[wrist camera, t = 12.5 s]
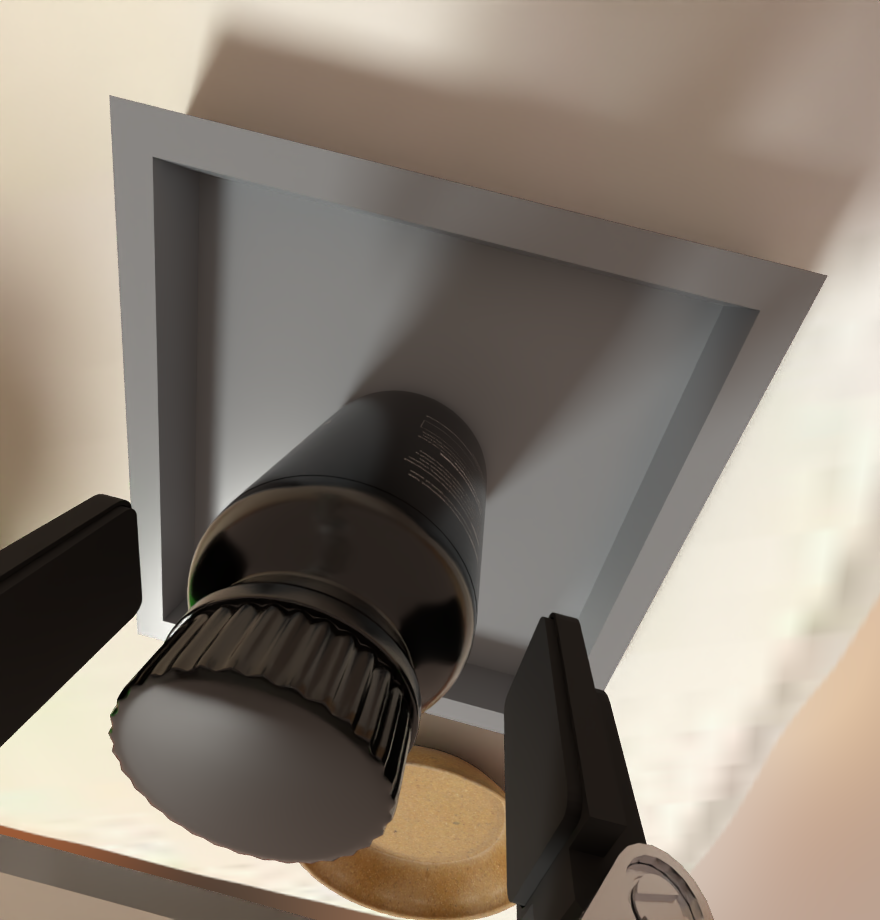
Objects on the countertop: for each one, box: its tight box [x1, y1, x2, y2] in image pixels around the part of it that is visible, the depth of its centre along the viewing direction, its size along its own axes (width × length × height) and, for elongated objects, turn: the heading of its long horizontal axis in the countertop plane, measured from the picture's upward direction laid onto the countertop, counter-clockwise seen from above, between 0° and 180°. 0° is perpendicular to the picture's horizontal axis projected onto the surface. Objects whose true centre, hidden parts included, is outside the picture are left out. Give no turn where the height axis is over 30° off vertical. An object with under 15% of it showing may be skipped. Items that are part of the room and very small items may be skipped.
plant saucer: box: [299, 745, 516, 920], centre depth 27 cm, size 15×15×3 cm
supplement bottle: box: [108, 390, 487, 864], centre depth 13 cm, size 7×7×12 cm
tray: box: [109, 95, 827, 734], centre depth 17 cm, size 20×20×3 cm
